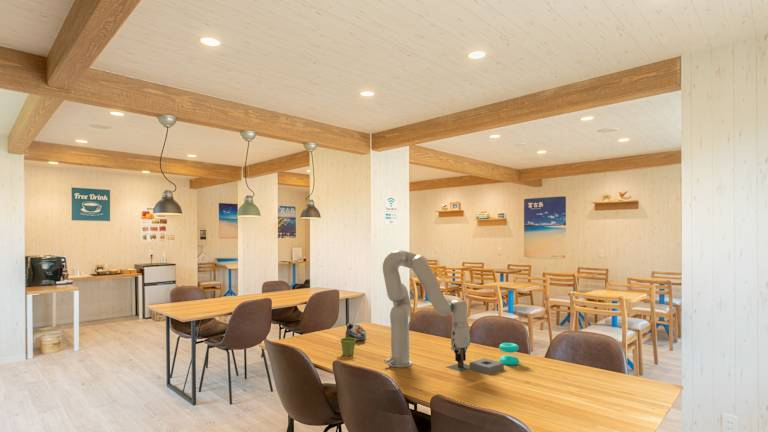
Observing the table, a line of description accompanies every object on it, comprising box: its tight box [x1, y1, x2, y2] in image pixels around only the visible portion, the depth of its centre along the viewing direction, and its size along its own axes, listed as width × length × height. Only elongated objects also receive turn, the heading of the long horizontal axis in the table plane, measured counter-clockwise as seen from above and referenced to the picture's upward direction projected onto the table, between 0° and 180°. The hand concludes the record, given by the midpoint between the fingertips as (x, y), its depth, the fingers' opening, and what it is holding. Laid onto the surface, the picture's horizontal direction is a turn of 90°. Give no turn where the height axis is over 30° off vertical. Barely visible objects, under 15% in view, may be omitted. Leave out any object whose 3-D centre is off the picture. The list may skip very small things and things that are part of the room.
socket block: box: [469, 358, 505, 375], centre depth 222 cm, size 12×12×4 cm
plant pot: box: [339, 337, 357, 357], centre depth 254 cm, size 9×9×9 cm
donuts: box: [498, 342, 520, 367], centre depth 233 cm, size 10×10×10 cm
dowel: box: [457, 348, 465, 368], centre depth 226 cm, size 3×3×11 cm
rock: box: [344, 323, 367, 341], centre depth 290 cm, size 15×12×14 cm
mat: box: [445, 363, 471, 373], centre depth 226 cm, size 12×10×1 cm
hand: (460, 360), depth 226 cm, fingers closed on dowel, 3 cm apart
